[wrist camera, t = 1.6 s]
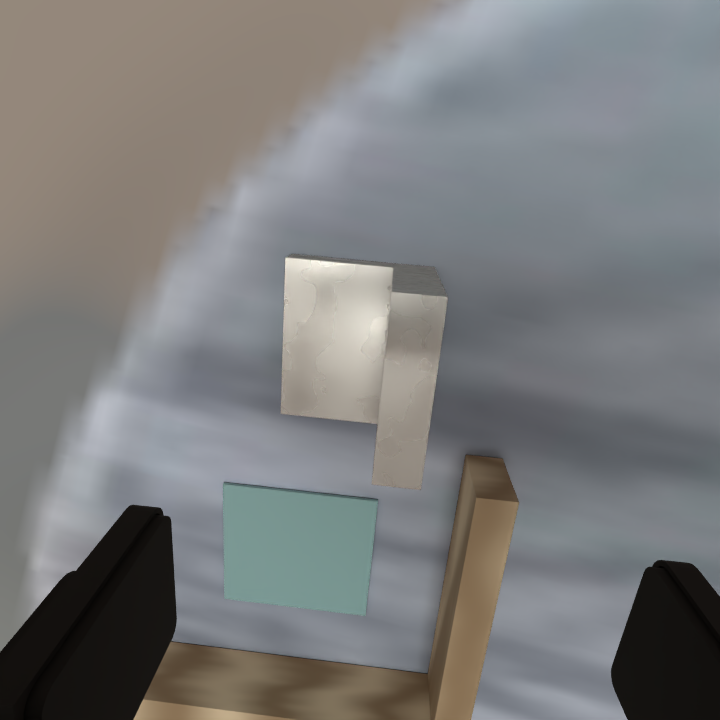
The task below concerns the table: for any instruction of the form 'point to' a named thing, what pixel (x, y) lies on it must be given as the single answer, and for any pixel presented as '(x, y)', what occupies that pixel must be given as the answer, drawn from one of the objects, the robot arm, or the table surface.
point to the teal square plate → (297, 548)
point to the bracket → (365, 353)
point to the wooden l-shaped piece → (354, 682)
